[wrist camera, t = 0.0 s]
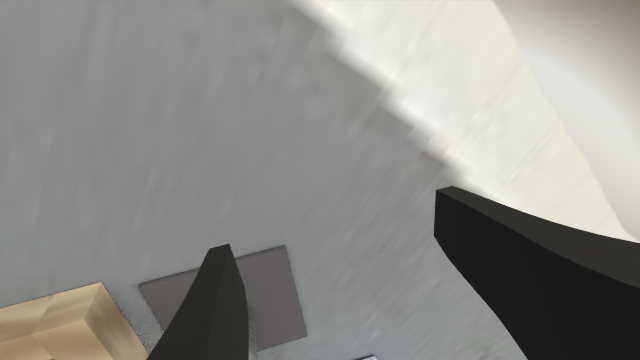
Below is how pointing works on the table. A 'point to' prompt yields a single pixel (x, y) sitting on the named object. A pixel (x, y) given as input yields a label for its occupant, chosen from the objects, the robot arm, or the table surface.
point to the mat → (261, 293)
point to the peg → (252, 334)
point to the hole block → (69, 328)
